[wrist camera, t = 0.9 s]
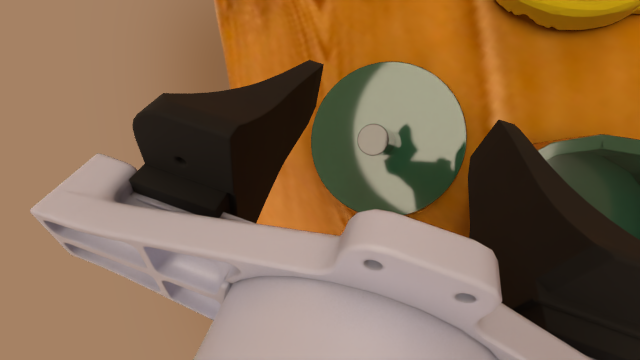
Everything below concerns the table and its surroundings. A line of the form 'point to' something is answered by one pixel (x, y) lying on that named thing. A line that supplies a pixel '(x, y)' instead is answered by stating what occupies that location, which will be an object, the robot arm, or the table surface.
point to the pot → (601, 174)
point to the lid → (388, 138)
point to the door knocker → (573, 12)
